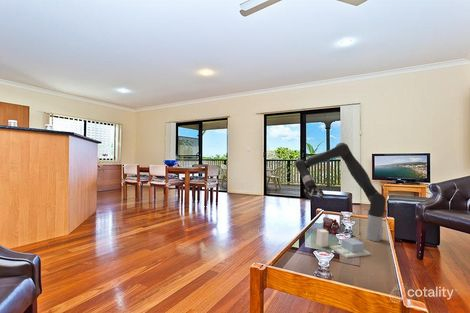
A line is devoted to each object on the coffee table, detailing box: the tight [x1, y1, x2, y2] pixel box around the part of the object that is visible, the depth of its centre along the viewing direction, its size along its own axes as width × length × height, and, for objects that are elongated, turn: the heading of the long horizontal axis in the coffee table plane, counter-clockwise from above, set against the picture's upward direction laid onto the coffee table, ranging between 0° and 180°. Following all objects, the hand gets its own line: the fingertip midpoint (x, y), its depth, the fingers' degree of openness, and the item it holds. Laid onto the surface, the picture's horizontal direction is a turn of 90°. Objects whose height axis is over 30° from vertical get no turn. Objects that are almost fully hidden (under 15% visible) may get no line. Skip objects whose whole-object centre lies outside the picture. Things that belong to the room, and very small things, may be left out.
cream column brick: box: [315, 228, 330, 248], centre depth 161 cm, size 5×5×10 cm
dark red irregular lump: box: [322, 217, 341, 235], centre depth 186 cm, size 7×12×10 cm, turn 54°
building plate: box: [329, 237, 371, 259], centre depth 153 cm, size 18×14×6 cm
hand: (318, 201), depth 173 cm, fingers open, 8 cm apart
